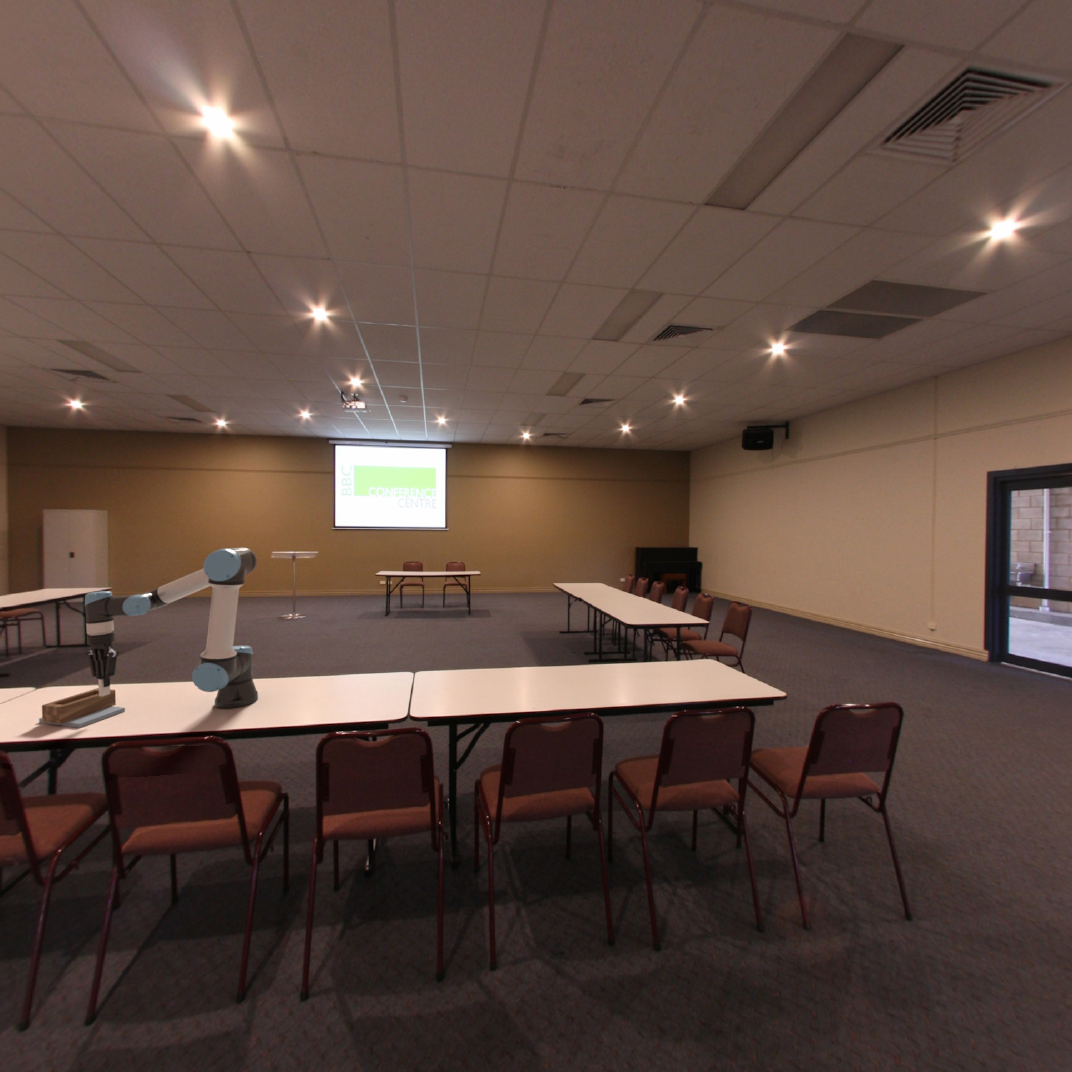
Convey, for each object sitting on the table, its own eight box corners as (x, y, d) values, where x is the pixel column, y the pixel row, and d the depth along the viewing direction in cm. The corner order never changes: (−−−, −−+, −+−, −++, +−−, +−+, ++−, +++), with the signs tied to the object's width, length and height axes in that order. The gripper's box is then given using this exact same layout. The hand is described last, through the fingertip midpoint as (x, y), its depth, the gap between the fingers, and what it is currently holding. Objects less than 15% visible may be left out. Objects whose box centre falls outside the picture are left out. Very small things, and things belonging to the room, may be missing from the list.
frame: (115, 704, 186) (115, 689, 186) (61, 723, 169) (60, 707, 168) (98, 702, 188) (97, 688, 188) (42, 721, 170) (41, 705, 170)
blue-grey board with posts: (124, 711, 183) (124, 698, 183) (79, 727, 169) (79, 714, 168) (86, 706, 188) (85, 694, 188) (39, 722, 173) (38, 709, 173)
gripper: (125, 630, 177) (128, 692, 178) (99, 630, 180) (102, 690, 181) (102, 635, 170) (106, 699, 171) (75, 634, 173) (80, 697, 174)
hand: (104, 695), depth 176 cm, fingers closed
